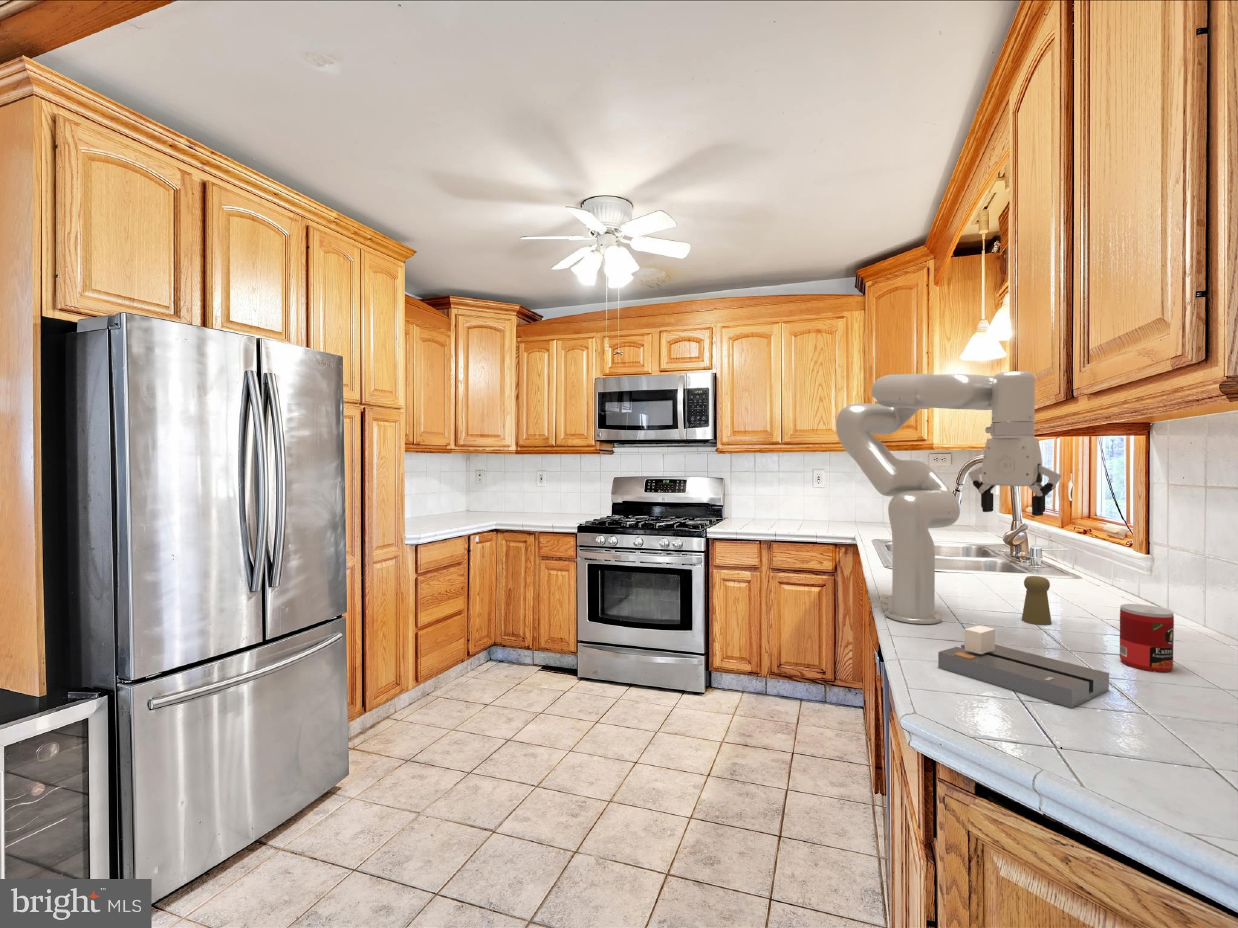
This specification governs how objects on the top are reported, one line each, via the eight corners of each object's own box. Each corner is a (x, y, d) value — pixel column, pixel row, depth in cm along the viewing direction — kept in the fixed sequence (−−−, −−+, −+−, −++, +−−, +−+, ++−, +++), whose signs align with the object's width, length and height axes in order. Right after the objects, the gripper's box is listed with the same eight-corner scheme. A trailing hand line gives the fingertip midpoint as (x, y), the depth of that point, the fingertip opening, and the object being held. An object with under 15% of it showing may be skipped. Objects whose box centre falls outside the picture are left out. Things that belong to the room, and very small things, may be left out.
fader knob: (964, 660, 117) (964, 629, 117) (978, 655, 119) (978, 625, 119) (980, 664, 114) (981, 633, 114) (994, 660, 117) (995, 628, 117)
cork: (1056, 625, 144) (1057, 579, 144) (1028, 624, 146) (1028, 578, 146) (1044, 619, 150) (1044, 574, 150) (1017, 617, 152) (1017, 573, 151)
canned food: (1159, 675, 112) (1160, 615, 112) (1110, 661, 120) (1110, 605, 119) (1182, 669, 115) (1183, 611, 115) (1132, 656, 123) (1133, 602, 123)
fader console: (938, 667, 116) (938, 650, 116) (977, 654, 124) (977, 639, 124) (1071, 708, 98) (1072, 688, 98) (1108, 690, 105) (1109, 671, 105)
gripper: (961, 432, 132) (960, 511, 133) (1051, 429, 118) (1050, 518, 118) (979, 433, 136) (978, 509, 137) (1068, 430, 122) (1067, 516, 122)
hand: (1011, 513), depth 127 cm, fingers open, 9 cm apart
